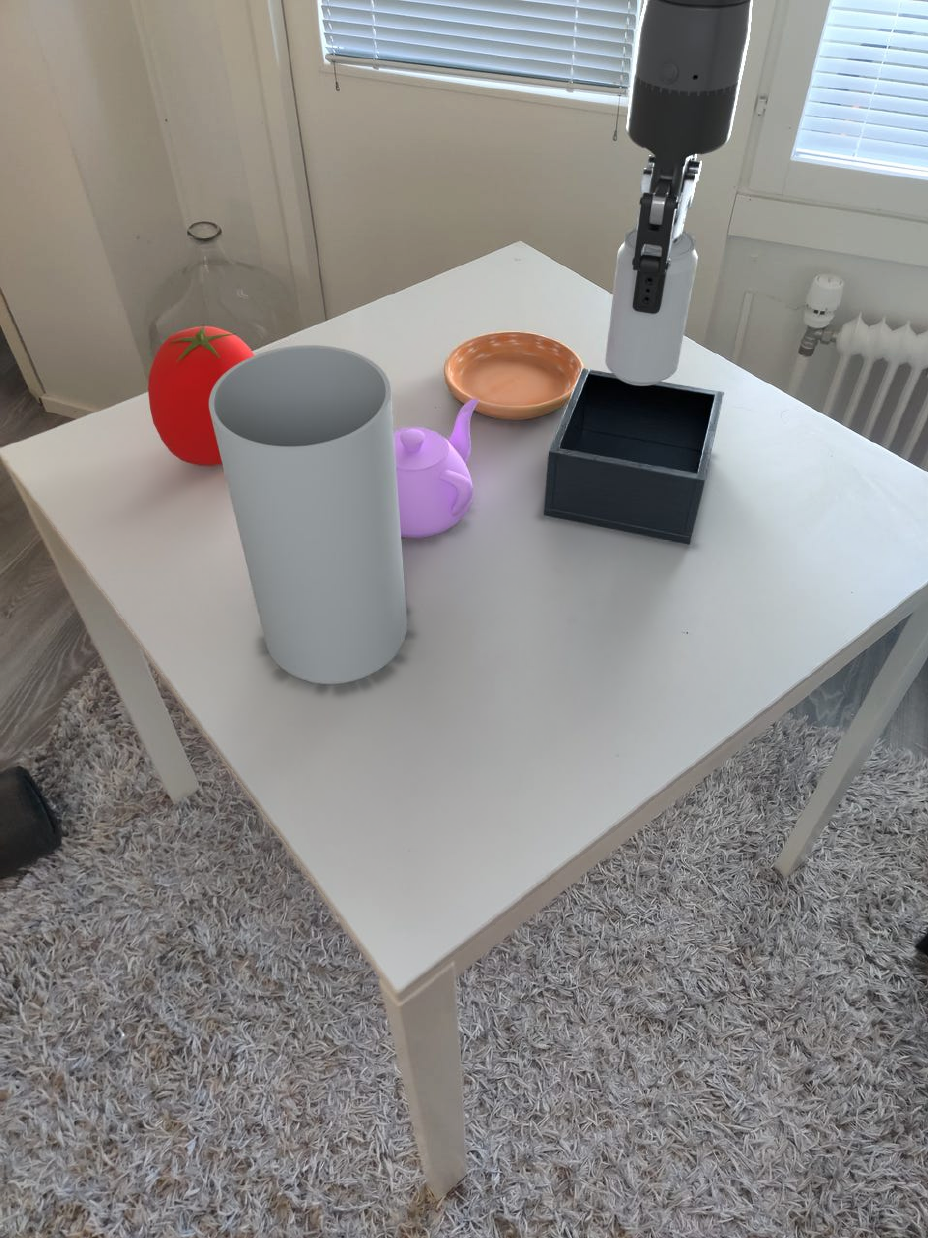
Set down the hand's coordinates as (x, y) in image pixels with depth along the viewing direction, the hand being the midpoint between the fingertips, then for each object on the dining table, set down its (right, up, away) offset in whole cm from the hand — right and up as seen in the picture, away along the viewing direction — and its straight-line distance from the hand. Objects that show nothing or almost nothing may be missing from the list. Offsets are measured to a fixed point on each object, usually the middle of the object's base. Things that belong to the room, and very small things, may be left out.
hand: (653, 288), depth 78 cm
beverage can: (0, -5, +6) cm, 8 cm away
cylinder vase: (-27, -29, +6) cm, 40 cm away
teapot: (-21, -16, +17) cm, 31 cm away
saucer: (-10, -1, +31) cm, 33 cm away
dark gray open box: (+1, -13, +19) cm, 24 cm away
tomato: (-42, -9, +24) cm, 49 cm away
